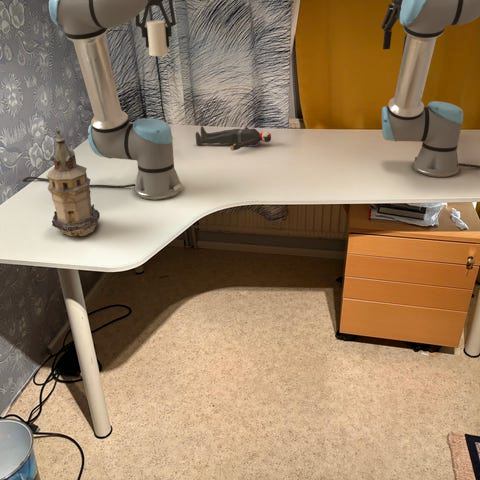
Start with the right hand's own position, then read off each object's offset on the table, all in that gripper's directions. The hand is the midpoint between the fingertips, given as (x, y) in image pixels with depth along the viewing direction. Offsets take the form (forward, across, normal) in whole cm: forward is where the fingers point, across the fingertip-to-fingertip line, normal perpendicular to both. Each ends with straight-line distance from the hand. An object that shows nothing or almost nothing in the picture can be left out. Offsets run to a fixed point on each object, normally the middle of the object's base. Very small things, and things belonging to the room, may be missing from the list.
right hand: (395, 52), depth 204 cm
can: (-2, -19, -88) cm, 90 cm away
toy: (+34, -16, -60) cm, 71 cm away
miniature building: (+34, +38, -126) cm, 136 cm away
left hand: (-5, -19, -88) cm, 90 cm away
